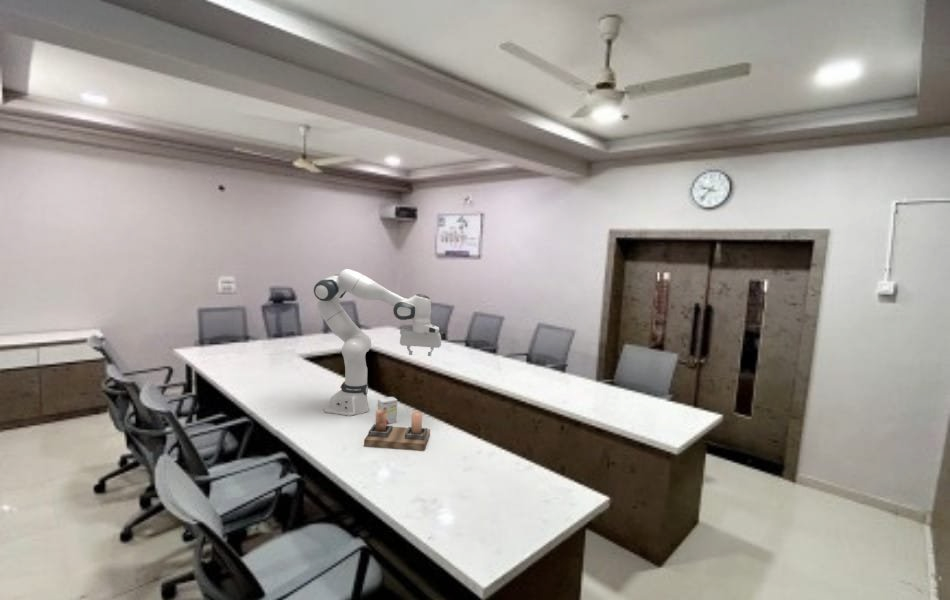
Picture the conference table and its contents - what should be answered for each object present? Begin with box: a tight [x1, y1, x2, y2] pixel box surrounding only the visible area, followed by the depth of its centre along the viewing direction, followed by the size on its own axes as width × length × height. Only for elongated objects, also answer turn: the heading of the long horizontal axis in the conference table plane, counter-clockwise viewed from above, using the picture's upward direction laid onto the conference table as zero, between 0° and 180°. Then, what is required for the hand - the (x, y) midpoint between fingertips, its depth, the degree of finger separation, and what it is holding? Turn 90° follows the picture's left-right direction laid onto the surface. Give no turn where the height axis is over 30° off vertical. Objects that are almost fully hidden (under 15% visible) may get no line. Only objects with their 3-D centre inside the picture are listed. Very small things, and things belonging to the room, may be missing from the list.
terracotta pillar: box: [410, 411, 423, 435], centre depth 199 cm, size 5×5×10 cm
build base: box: [363, 409, 431, 452], centre depth 200 cm, size 26×16×13 cm, turn 87°
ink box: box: [376, 396, 398, 425], centre depth 220 cm, size 9×5×12 cm, turn 127°
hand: (420, 355), depth 223 cm, fingers open, 8 cm apart
